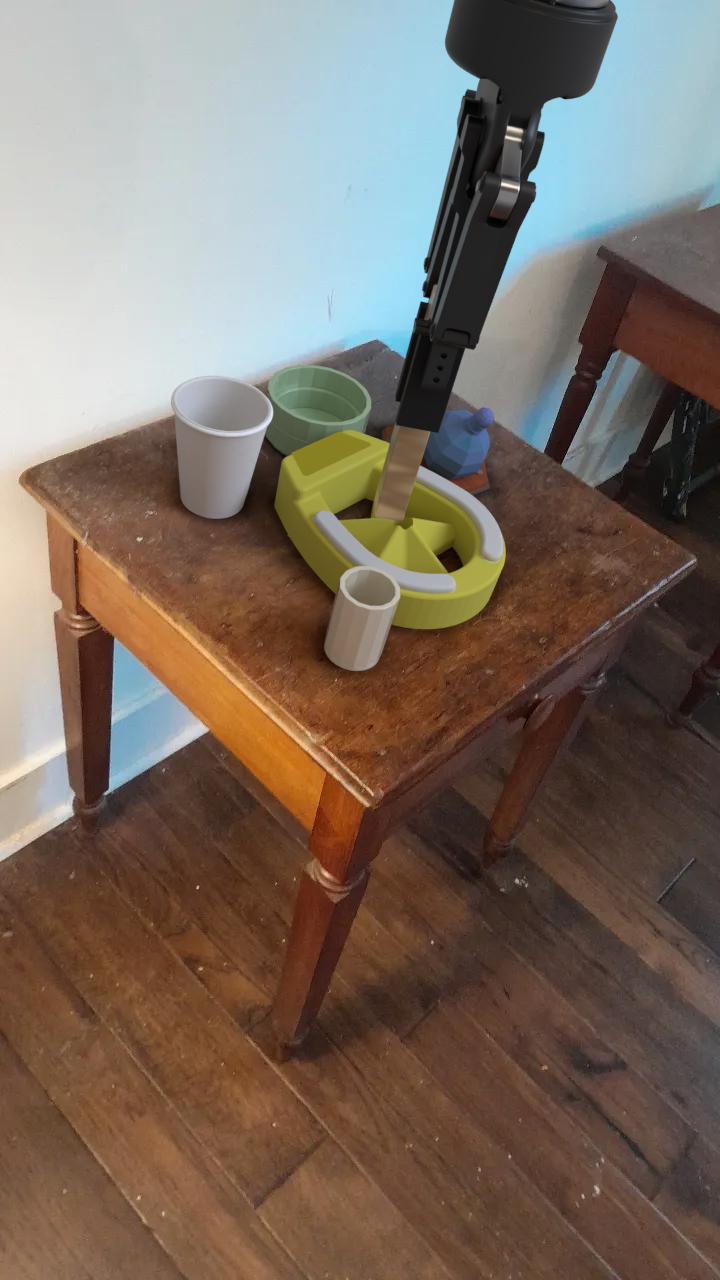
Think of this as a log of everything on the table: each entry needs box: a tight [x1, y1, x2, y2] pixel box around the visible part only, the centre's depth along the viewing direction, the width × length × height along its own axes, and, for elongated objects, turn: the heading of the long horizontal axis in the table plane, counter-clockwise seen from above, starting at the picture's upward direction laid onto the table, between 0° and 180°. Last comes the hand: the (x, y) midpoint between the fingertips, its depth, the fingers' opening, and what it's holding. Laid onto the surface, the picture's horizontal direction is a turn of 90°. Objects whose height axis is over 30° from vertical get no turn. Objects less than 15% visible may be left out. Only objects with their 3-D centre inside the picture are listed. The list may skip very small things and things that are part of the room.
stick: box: [374, 285, 437, 521], centre depth 60 cm, size 2×2×16 cm
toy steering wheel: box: [274, 430, 507, 630], centre depth 83 cm, size 16×21×5 cm
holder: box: [323, 566, 400, 672], centre depth 73 cm, size 5×5×7 cm
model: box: [380, 406, 495, 496], centre depth 92 cm, size 12×9×9 cm
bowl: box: [264, 364, 372, 457], centre depth 92 cm, size 10×10×5 cm
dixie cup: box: [170, 375, 273, 520], centre depth 81 cm, size 8×8×10 cm
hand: (416, 413), depth 60 cm, fingers closed on stick, 2 cm apart
